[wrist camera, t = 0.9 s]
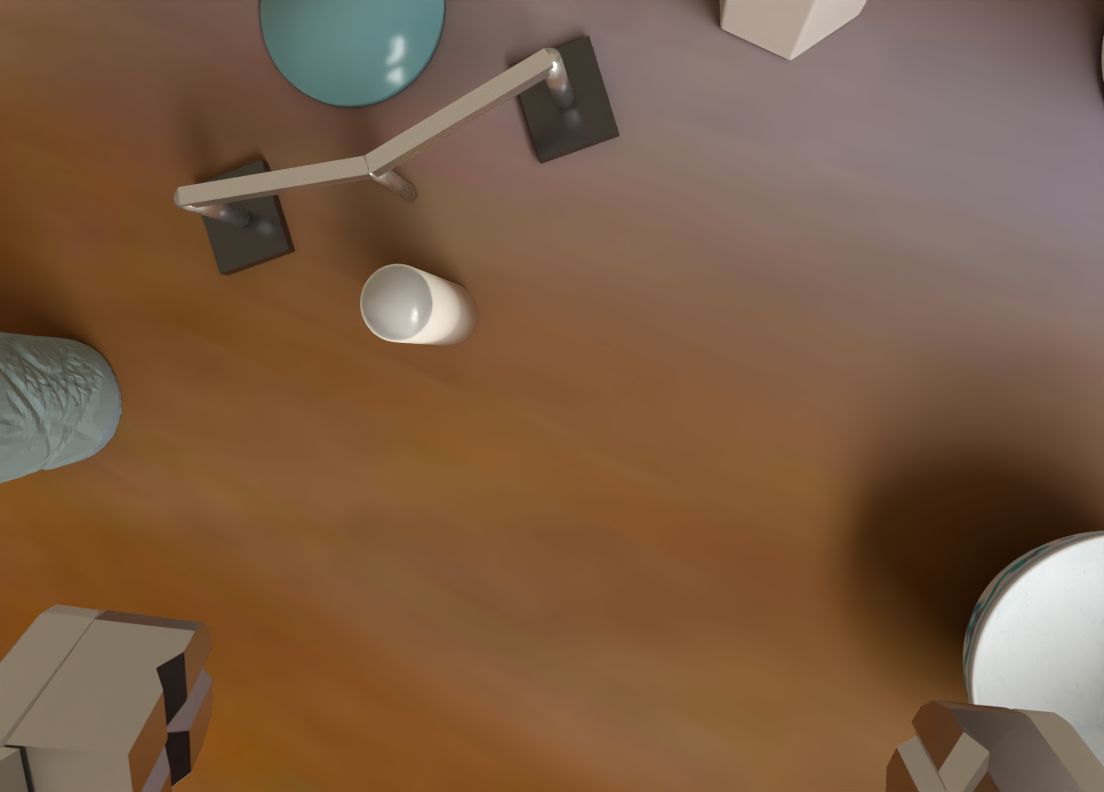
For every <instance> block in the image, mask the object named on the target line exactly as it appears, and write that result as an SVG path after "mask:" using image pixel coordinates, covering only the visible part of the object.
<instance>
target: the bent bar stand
mask: <svg viewBox="0 0 1104 792" xmlns="http://www.w3.org/2000/svg"><path fill="white" fill-rule="evenodd" d="M510 66H511V68H510V69H508V70H507V71H505V72H503V73H502V74H500V75H498V76H497V77H495V78H493V79H492V80H490V81H488V82H487V83H485V84H483V85H482V86H480V87H478V88H477V89H475V90H473V91H472V92H470V93H468V94H467V95H465V96H463V97H461V98H460V99H458V100H456V101H455V102H453V103H451V104H450V105H448V106H446V107H445V108H443V109H441V110H440V111H438V112H436V113H435V114H433V115H431V116H430V117H428V118H426V119H425V120H423V121H421V122H420V123H418V124H416V125H415V126H413V127H411V128H410V129H408V130H406V131H405V132H403V133H401V134H400V135H398V136H396V137H395V138H393V139H391V140H390V141H388V142H386V143H385V144H383V145H381V146H380V147H378V148H376V149H375V150H373V151H371V152H370V153H368V154H366V155H365V156H359V157H354V158H348V159H342V160H336V161H330V162H324V163H318V164H312V165H306V166H301V167H295V168H289V169H283V170H277V171H270V168H269V165H268V163H267V162H265V161H263V160H259V161H257V162H254V163H251V164H249V165H246V166H244V167H241V168H238V169H236V170H233V171H230V172H228V173H225V174H222V175H220V176H217V177H215V178H212V179H209V180H207V181H204V182H201V183H199V184H195V185H189V186H183V187H178V190H177V191H176V192H175V194H174V201H175V204H176V205H177V206H178V207H180V208H182V209H186V210H189V211H192V212H195V213H198V214H201V215H202V216H203V219H204V222H205V226H206V229H207V232H208V235H209V239H210V242H211V245H212V248H213V252H214V255H215V258H216V261H217V265H218V268H219V271H220V274H223V275H230V274H232V273H235V272H238V271H241V270H244V269H247V268H249V267H252V266H255V265H258V264H261V263H263V262H266V261H269V260H272V259H275V258H277V257H280V256H283V255H286V254H289V253H291V252H294V251H295V250H294V247H293V243H292V240H291V237H290V233H289V230H288V227H287V224H286V220H285V217H284V214H283V211H282V207H281V204H280V201H279V198H278V194H284V193H290V192H296V191H302V190H308V189H314V188H320V187H326V186H332V185H338V184H345V183H351V182H357V181H363V180H369V179H373V180H375V181H376V182H378V183H379V184H381V185H383V186H384V187H386V188H387V189H389V190H390V191H392V192H394V193H395V194H397V195H398V196H400V197H402V198H403V199H405V200H406V201H409V202H411V201H414V200H415V199H416V198H417V195H418V191H417V189H416V188H415V187H414V186H413V185H411V184H410V183H408V182H407V181H406V180H404V179H403V178H401V177H400V176H398V175H397V174H396V173H394V172H393V171H391V169H393V168H395V167H397V166H398V165H400V164H402V163H403V162H405V161H407V160H408V159H410V158H412V157H413V156H415V155H417V154H419V153H420V152H422V151H424V150H425V149H427V148H429V147H430V146H432V145H434V144H435V143H437V142H439V141H441V140H442V139H444V138H446V137H447V136H449V135H451V134H452V133H454V132H456V131H457V130H459V129H461V128H463V127H464V126H466V125H468V124H469V123H471V122H473V121H474V120H476V119H478V118H479V117H481V116H483V115H484V114H486V113H488V112H490V111H491V110H493V109H495V108H496V107H498V106H500V105H501V104H503V103H505V102H506V101H508V100H510V99H512V98H513V97H515V96H517V95H518V94H519V95H520V99H521V102H522V105H523V109H524V112H525V115H526V118H527V122H528V125H529V128H530V131H531V135H532V138H533V141H534V145H535V148H536V151H537V154H538V158H539V161H540V162H541V164H542V163H545V162H547V161H550V160H553V159H556V158H559V157H561V156H564V155H567V154H570V153H573V152H575V151H578V150H581V149H584V148H587V147H590V146H592V145H595V144H598V143H601V142H604V141H606V140H609V139H612V138H615V137H618V136H619V132H618V129H617V126H616V122H615V119H614V116H613V112H612V109H611V106H610V103H609V99H608V96H607V93H606V89H605V86H604V83H603V80H602V76H601V73H600V70H599V67H598V63H597V60H596V57H595V53H594V50H593V47H592V44H591V40H590V37H589V36H586V37H583V38H581V39H578V40H576V41H573V42H570V43H568V44H565V45H562V46H560V47H557V48H547V49H545V48H543V49H542V50H540V51H538V52H537V53H535V54H533V55H532V56H530V57H528V58H527V59H525V60H523V61H520V62H518V63H515V64H512V65H510Z"/></svg>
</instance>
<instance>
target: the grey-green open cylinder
mask: <svg viewBox="0 0 1104 792" xmlns="http://www.w3.org/2000/svg"><path fill="white" fill-rule="evenodd" d="M121 401H122V399H121V391H120V389H119V385H118V382H117V379H116V376H115V374H114V373H113V371H112V367H110V366H109V364H108V362H107V361H106V360H105V358H104V357H103V356H102V355H101V354H100V353H99V352H98V351H96V350H94V349H93V348H91V347H89V346H87V345H85V344H83V343H81V342H78V341H75V340H71V339H65V338H55V337H45V336H32V335H22V334H12V333H5V332H0V483H2V482H5V481H9V480H12V479H17V478H20V477H23V476H25V475H27V474H29V473H34V472H37V471H38V470H40V469H45V470H50V469H54V468H58V467H61V466H64V465H68V464H71V463H75V462H78V461H81V460H84V459H86V458H88V457H90V456H92V455H94V454H95V453H97V452H98V451H100V450H101V449H102V448H103V447H104V446H105V445H106V444H107V443H108V442H109V441H110V439H111V438H112V437H113V436H114V433H115V431H116V428H117V426H118V423H119V420H120V415H121V414H122V407H121Z"/></svg>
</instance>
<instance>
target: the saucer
mask: <svg viewBox="0 0 1104 792" xmlns="http://www.w3.org/2000/svg"><path fill="white" fill-rule="evenodd" d="M445 10H446V5H445V0H261V6H260V15H261V26H262V32H263V37H264V40H265V43H266V47H267V49H268V51H269V53H270V56H271V58H272V59H273V61H274V63H275V65H276V66H277V68H278V69H279V70H280V72H281V73H282V74H283V75H284V77H285V78H286V79H287V80H288V81H290V82H291V83H292V84H293V85H294V86H295V87H296V88H298V89H299V90H301V91H302V92H303V93H305V94H306V95H307V96H309V97H311V98H313V99H315V100H317V101H319V102H322V103H325V104H328V105H332V106H337V107H347V108H355V107H365V106H369V105H374V104H377V103H380V102H382V101H385V100H387V99H389V98H391V97H393V96H395V95H397V94H398V93H400V92H401V91H402V90H404V89H405V88H407V87H408V86H409V85H410V84H411V83H412V82H413V81H414V80H416V79H417V77H418V76H419V75H420V74H421V73H422V71H423V70H424V69H425V68H426V66H427V65H428V63H429V61H430V60H431V58H432V56H433V54H434V52H435V50H436V48H437V46H438V43H439V40H440V38H441V35H442V30H443V26H444V21H445Z"/></svg>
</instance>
